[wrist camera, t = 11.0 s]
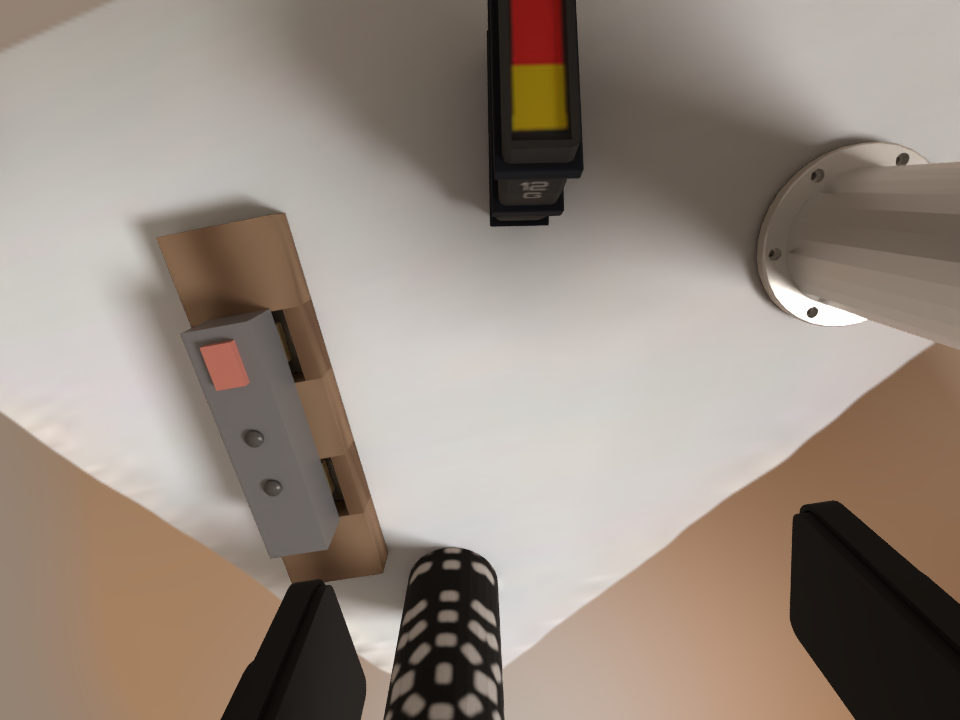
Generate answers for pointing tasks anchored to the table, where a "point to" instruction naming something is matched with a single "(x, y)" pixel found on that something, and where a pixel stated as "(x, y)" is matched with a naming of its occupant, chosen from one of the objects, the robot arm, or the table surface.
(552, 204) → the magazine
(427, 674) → the spotted tube
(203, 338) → the grey control box
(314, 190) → the table surface
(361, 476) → the rail
